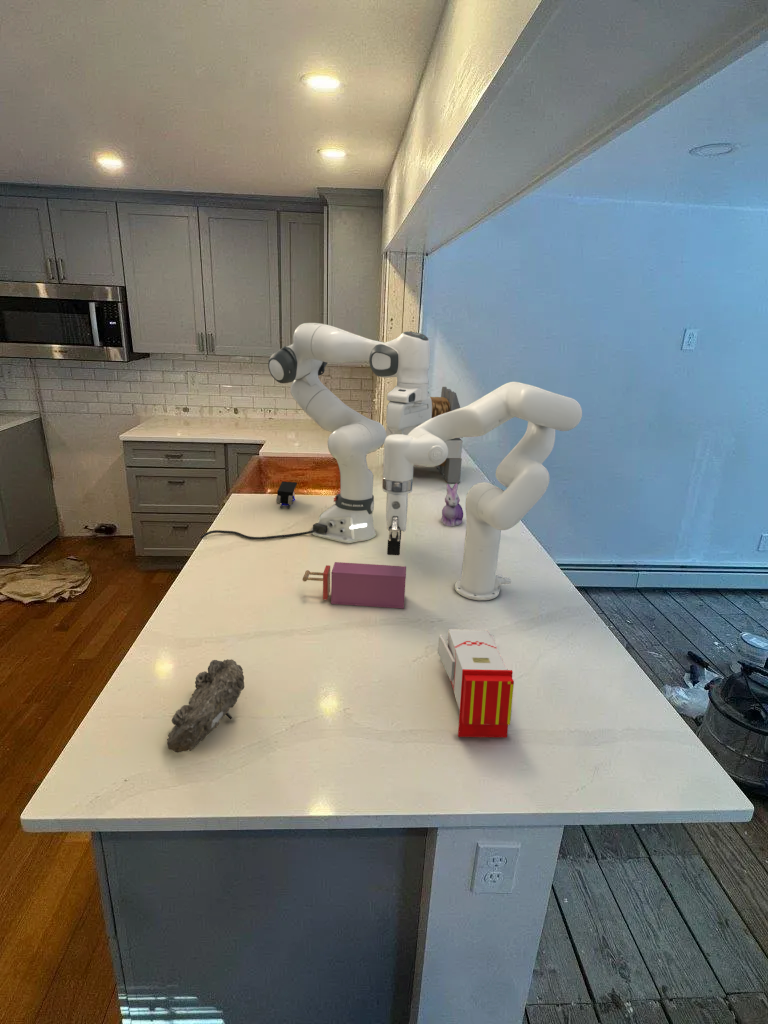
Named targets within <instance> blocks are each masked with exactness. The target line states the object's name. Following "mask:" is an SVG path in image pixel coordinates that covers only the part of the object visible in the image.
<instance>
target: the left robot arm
mask: <svg viewBox="0 0 768 1024" xmlns="http://www.w3.org/2000/svg"><path fill="white" fill-rule="evenodd" d="M359 361H361V362H362V361H368V362H369V367H370V369H371V371H372V373H373V374H374V375H375V376H377V377H380V378H384V379H387V378H396V385H395V386H394V387H393V388H392V389H391V390H389V392H387V396H386V399H387V401H388V403H389V404H387V405H388V408H387V407H386V412H387V423H386V426H388V428H389V429H392V430H395V432H396V434H403V432H404V429H405V428H408V427H412V426H415V425H416V427H417V426H419V425H421V424H422V423H424V422H426V421H428V420H429V419H431V417H432V400H431V398H430V397H431V394H430V392H429V370H430V368H431V342H430V340H429V337H427V336H426V335H425V334H423V333H420V332H415V331H403V332H402V333H400V335H399V336H397V337H396V338H394V339H391V340H388V341H381V340H377V339H371V338H367V337H364V336H362V335H359V334H356V333H353V332H351V331H347V330H345V329H342V328H339V327H336V326H333V325H330V324H325V323H319V322H304V323H301V324H299V325H298V326H297V327H296V328H295V329H294V331H293V337H292V343H291V344H289V345H287V346H282V347H281V348H280V349H279V348H278V350H276V351H275V352H273V353H272V354H271V355H270V356H269V358H268V363H267V367H268V371H269V374H270V376H271V377H272V378H273V379H274V380H275V381H276V382H277V383H279V384H289V383H291V385H290V388H289V389H290V395H291V396H292V398H293V400H294V401H295V402H296V403H297V405H298V406H299V407H300V408H301V409H302V410H303V411H304V413H306V415H308V417H310V418H311V419H312V421H314V422H315V423H316V424H317V425H318V426H319V427H320V428H321V429H323V430H324V431H326V432H330V434H329V436H328V438H327V449H328V452H329V454H330V455H331V456H332V458H334V459H335V461H336V462H337V463H336V464H337V465H338V470H339V476H340V480H339V481H340V488H339V489H340V490H339V491H338V492H337V494H336V495H335V496H334V497H333V502H334V504H333V505H331V506H329V507H328V508H326V509H325V510H323V512H321V514H320V515H319V517H318V521H317V522H316V523H314V524H312V528H311V530H308V531H302V532H296V533H287V534H277V535H269V536H268V535H267V536H250V535H246V534H243V533H241V532H238V531H233V530H221V529H217V530H209V531H207V532H205V533H203V534H202V535H201V536H200V537H199V539H204V538H205V537H206V536H208V535H211V534H230V535H231V534H233V535H237V536H239V537H241V538H245V539H248V540H257V541H259V540H271V539H280V538H291V537H297V536H303V535H304V536H305V535H309V534H311V536H315V537H319V538H323V539H326V540H330V541H336V542H339V543H343V544H352V543H357V542H365V541H368V540H372V539H373V538H375V537H376V535H377V532H376V528H375V523H374V513H373V512H374V509H375V496H374V473H373V471H372V470H371V469H370V468H369V467H368V462H367V455H370V454H371V453H375V452H377V451H378V450H379V449H380V448H382V446H384V441H385V438H386V428H385V426H384V425H383V424H382V423H381V422H380V421H377V420H374V419H371V418H368V417H366V416H365V415H363V414H361V413H360V412H358V411H356V410H355V409H353V408H352V407H350V406H349V405H347V404H346V403H344V402H343V401H342V400H341V399H340V398H339V397H338V396H337V395H335V394H334V393H333V392H332V391H331V390H330V389H329V388H328V387H327V386H325V384H323V383H322V381H321V380H320V378H319V376H322V375H324V373H325V368H326V366H327V364H341V363H350V362H351V363H352V362H359ZM389 401H390V402H389Z"/></svg>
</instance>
